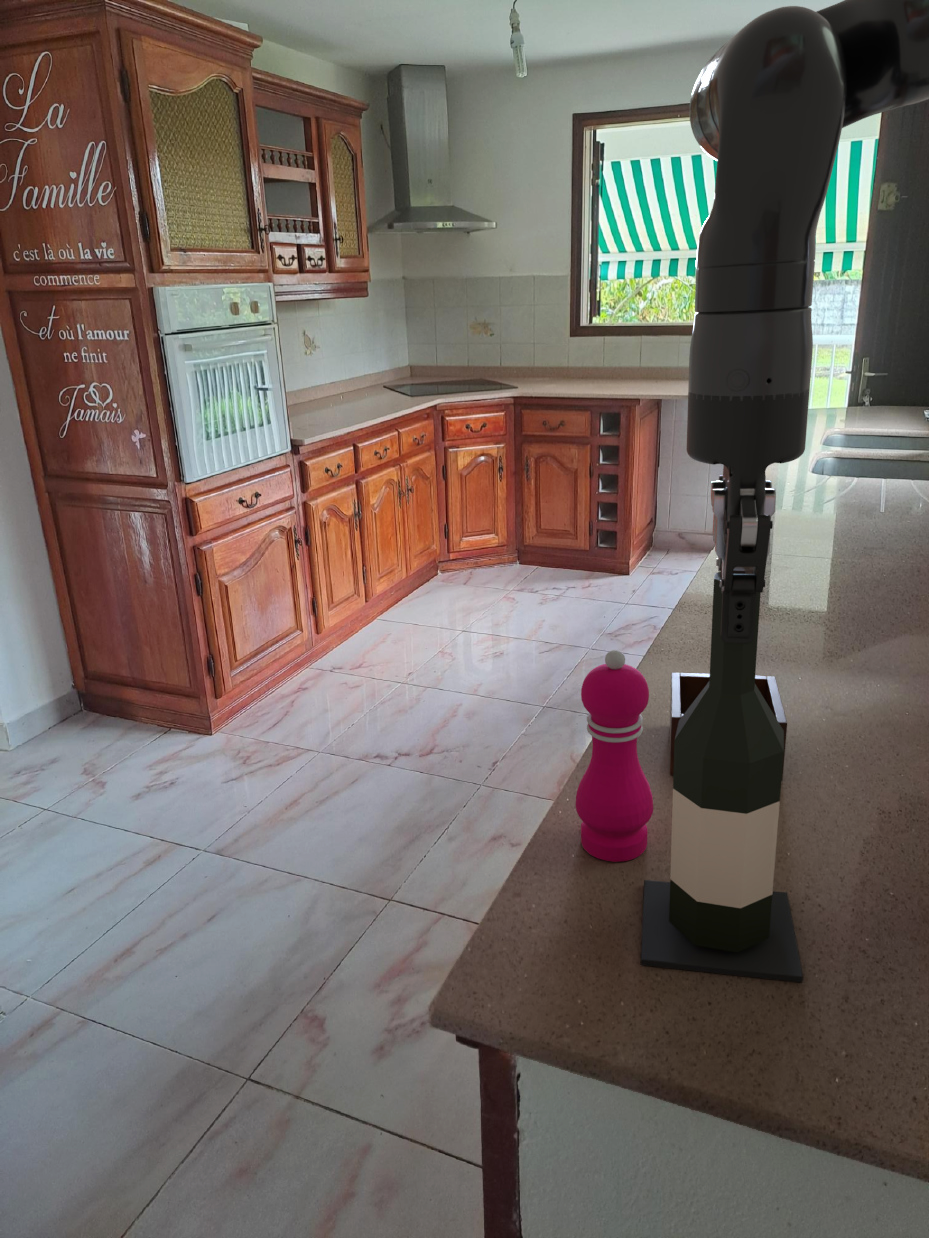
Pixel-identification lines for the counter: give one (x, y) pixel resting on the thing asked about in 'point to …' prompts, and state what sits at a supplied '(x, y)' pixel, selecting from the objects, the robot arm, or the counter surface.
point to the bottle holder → (690, 687)
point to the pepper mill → (614, 763)
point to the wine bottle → (726, 800)
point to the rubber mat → (678, 952)
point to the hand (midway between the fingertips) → (735, 630)
